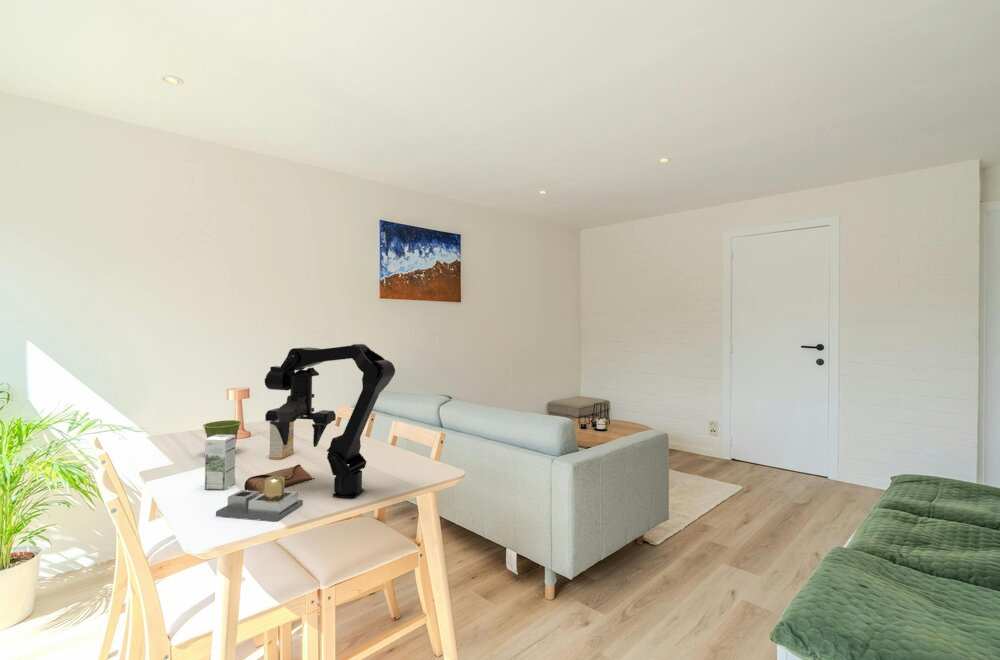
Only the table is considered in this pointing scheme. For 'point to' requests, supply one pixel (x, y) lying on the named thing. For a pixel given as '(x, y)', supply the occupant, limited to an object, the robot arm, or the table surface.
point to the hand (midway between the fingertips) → (300, 445)
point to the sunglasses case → (289, 474)
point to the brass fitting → (274, 488)
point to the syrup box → (219, 462)
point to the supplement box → (280, 443)
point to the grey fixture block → (259, 506)
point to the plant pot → (222, 428)
